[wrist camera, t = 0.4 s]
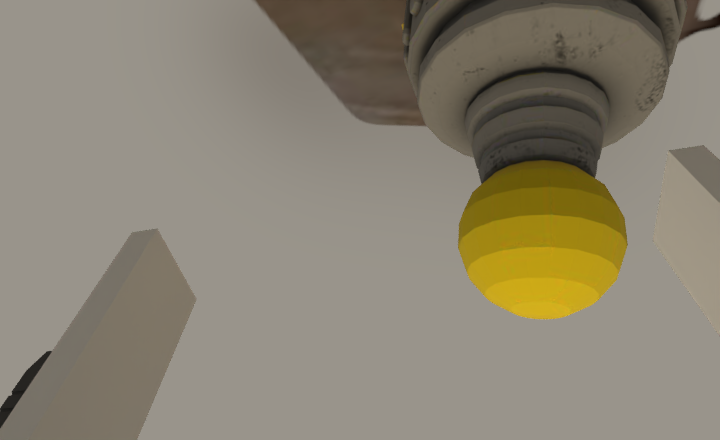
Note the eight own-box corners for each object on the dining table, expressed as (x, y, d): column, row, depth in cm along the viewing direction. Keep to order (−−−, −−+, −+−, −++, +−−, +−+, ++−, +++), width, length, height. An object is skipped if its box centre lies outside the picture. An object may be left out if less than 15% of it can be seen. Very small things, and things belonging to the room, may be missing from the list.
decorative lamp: (371, -111, 37) (299, 261, 24) (665, -252, 28) (806, 218, 15) (453, 62, 51) (436, 353, 38) (665, 5, 43) (737, 359, 29)
